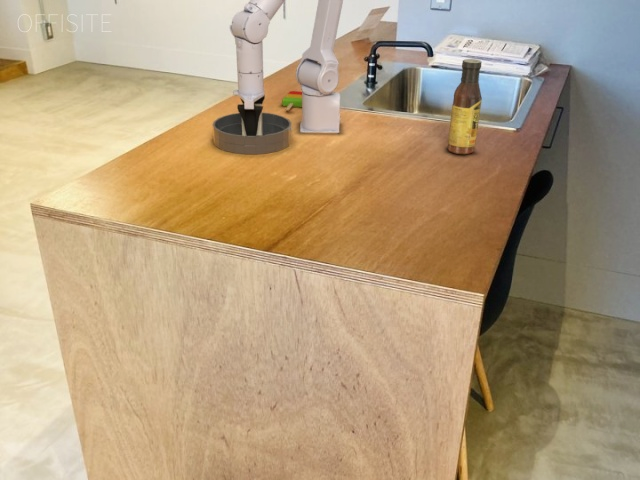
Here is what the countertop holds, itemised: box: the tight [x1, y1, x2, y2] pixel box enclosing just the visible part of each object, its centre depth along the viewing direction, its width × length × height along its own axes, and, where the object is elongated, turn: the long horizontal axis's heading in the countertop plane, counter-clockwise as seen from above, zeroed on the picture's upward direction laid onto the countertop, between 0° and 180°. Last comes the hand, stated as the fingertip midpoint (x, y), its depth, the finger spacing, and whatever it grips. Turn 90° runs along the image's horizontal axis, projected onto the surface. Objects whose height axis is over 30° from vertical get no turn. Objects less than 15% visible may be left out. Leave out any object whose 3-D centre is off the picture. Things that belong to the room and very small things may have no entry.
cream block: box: [242, 103, 263, 136], centre depth 157 cm, size 4×4×8 cm
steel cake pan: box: [212, 112, 293, 155], centre depth 158 cm, size 18×18×4 cm
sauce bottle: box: [447, 58, 483, 155], centre depth 152 cm, size 7×6×20 cm
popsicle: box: [281, 90, 302, 111], centre depth 185 cm, size 6×15×2 cm, turn 169°
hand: (252, 131), depth 158 cm, fingers open, 6 cm apart
